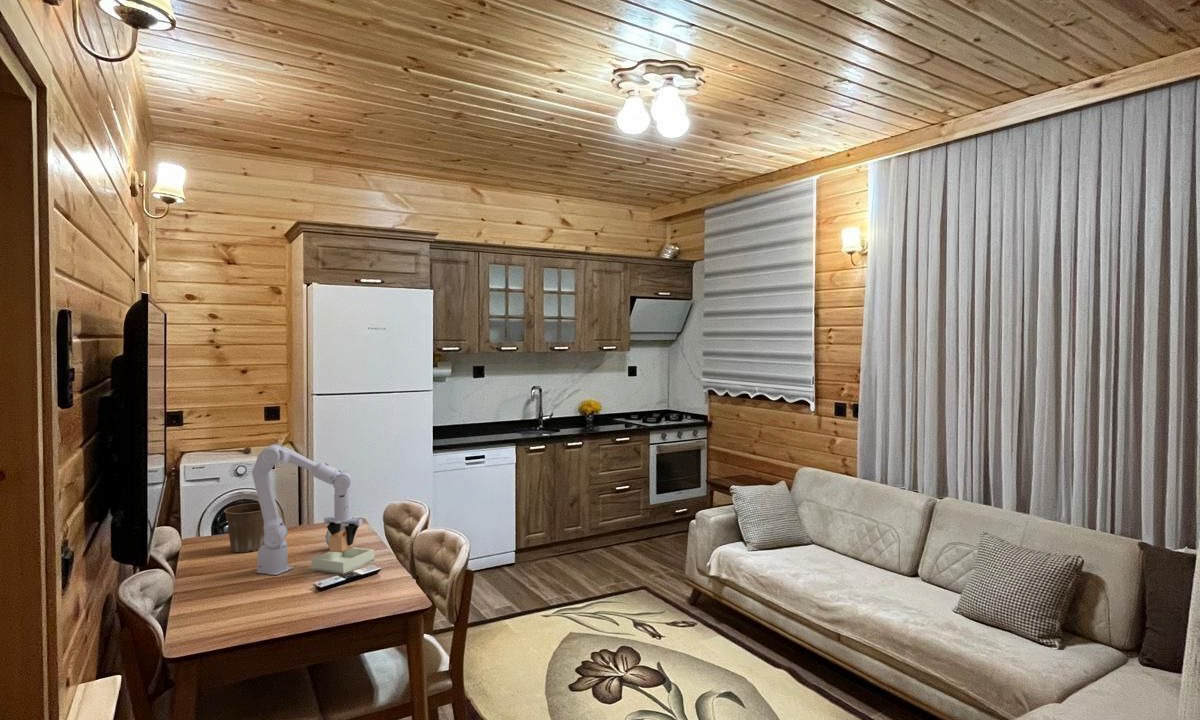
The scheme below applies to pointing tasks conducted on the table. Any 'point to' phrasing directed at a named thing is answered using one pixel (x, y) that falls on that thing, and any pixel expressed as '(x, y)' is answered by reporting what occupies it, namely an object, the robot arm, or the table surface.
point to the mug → (340, 531)
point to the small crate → (340, 542)
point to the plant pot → (245, 527)
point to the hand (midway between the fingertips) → (343, 544)
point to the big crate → (342, 560)
